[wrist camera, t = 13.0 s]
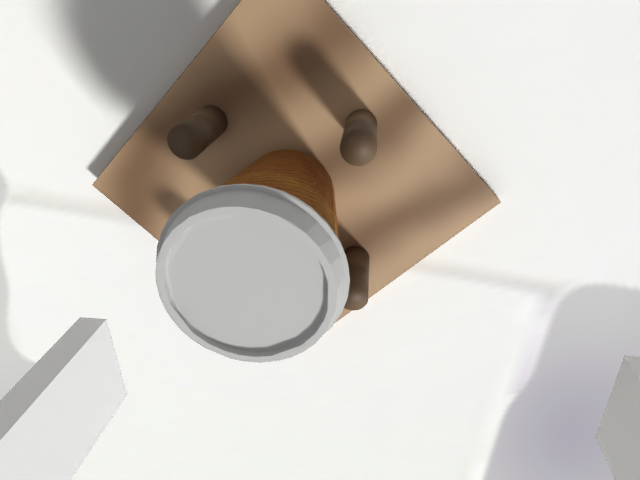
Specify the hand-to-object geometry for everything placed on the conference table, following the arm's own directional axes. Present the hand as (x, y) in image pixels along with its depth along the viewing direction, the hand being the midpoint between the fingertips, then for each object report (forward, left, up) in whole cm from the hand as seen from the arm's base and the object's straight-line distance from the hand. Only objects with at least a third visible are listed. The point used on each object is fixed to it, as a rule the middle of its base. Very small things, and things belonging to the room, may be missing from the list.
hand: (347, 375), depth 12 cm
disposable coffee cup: (+1, +6, -21) cm, 22 cm away
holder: (+1, +6, -22) cm, 22 cm away
